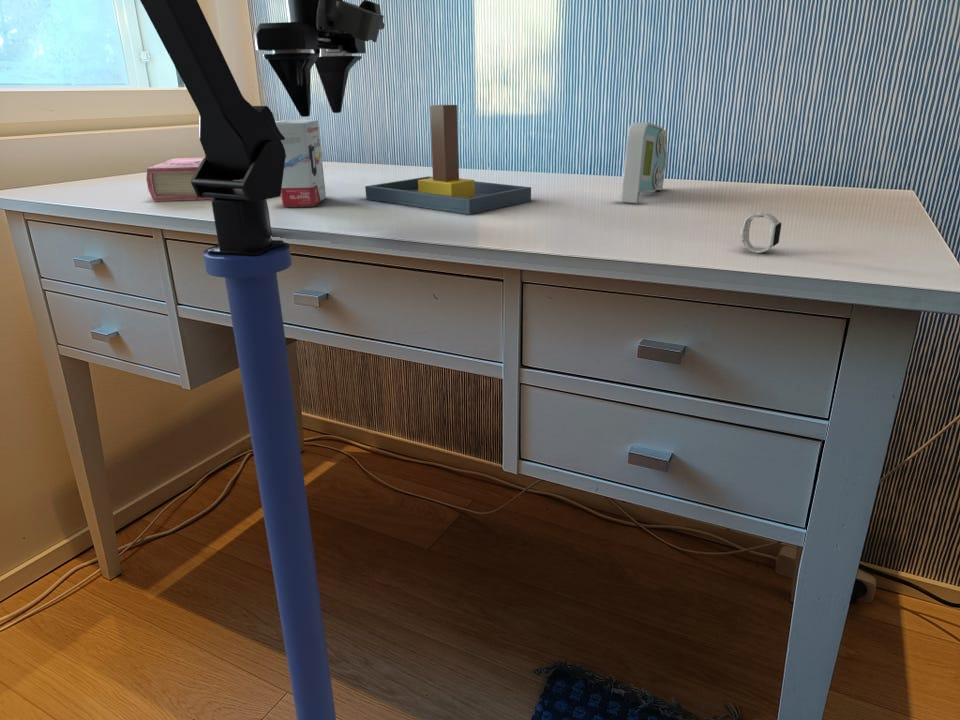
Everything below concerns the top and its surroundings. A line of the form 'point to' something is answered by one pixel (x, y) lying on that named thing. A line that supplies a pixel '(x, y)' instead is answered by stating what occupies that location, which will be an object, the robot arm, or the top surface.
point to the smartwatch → (773, 234)
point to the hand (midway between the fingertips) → (321, 114)
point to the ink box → (302, 163)
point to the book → (173, 180)
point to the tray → (484, 199)
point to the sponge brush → (445, 156)
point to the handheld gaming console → (644, 160)
